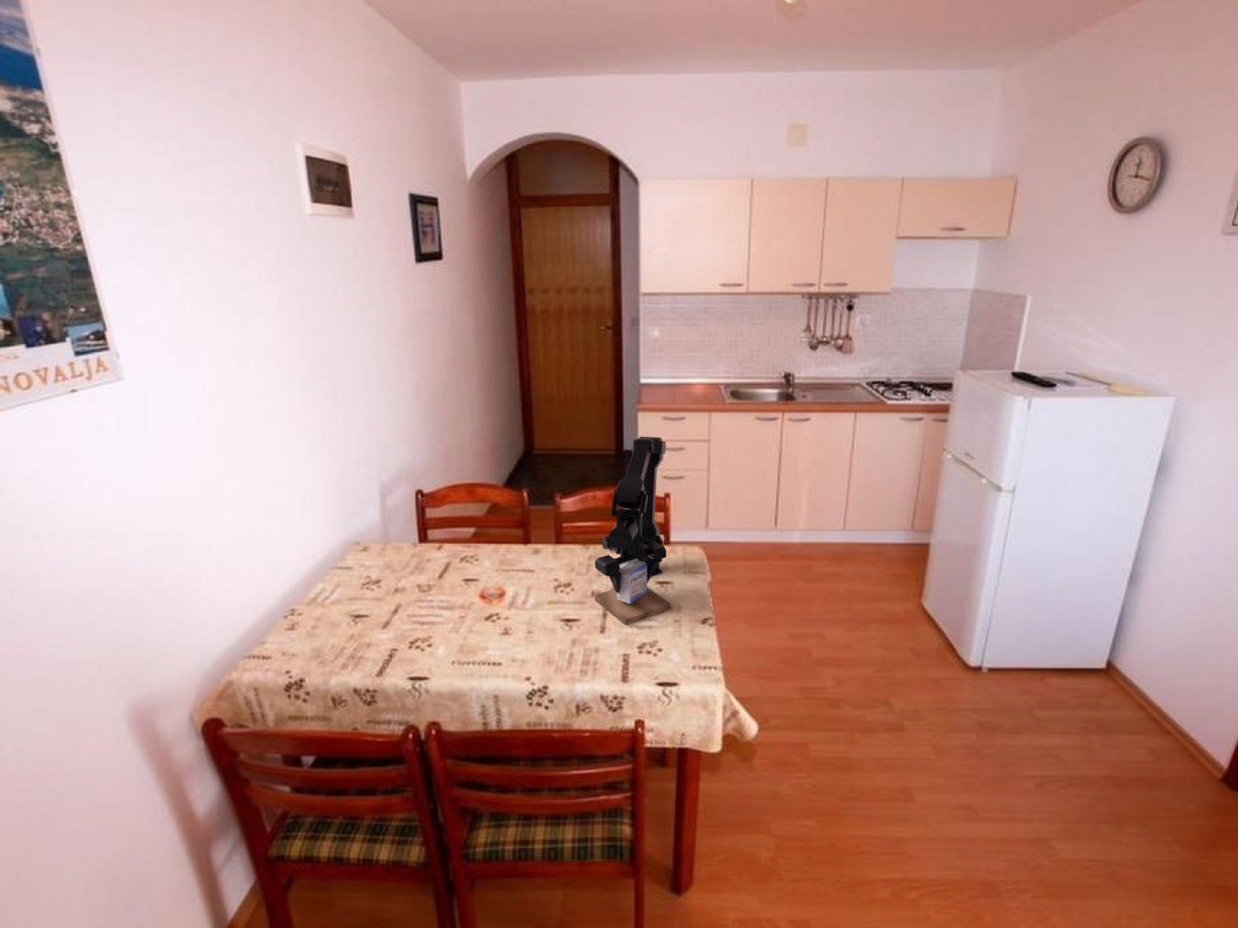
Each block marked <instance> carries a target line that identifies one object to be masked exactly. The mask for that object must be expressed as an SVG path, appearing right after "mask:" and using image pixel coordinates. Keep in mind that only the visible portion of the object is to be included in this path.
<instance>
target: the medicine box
mask: <svg viewBox="0 0 1238 928" xmlns="http://www.w3.org/2000/svg"><path fill="white" fill-rule="evenodd" d="M619 572H620V573H621V581H620V591H619V593H617V600H620V601H623V602H626V603H629V604H631V603H633V602H634V601H635V600H637V599H638V598H639V597H641V596H642V595H644V594H645V593H646V592H647V587H648V583H647V563H645V562H642V561H639V560H635V561H632V562H628V563H625V564H623V566H620V570H619Z"/></svg>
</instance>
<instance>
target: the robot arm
mask: <svg viewBox="0 0 1238 928" xmlns="http://www.w3.org/2000/svg"><path fill="white" fill-rule="evenodd" d="M666 448H667V444H666V441H664V440H663V438H662V437H660V436H659V437H658V436H639V438H638V437H637V438H635V439H632V455H631V457H630V462H629V465H628V467H627V468H628V469H627V472H626V475H625V476H624V477H622V478H621V479H620V480H619V482H618V483H617V486H616V488H615V489H614V490H613V497H612V501H611V503H612V504H611V511H610V517H614V518H616V523H615V524H614V526H613V527H612V529H611V531H610V532H609V535H607V536H602V537H601V545H602V549H603V550H609V551H610V552H611V551H614V553H615V554H616V555H619V556H618V557H613V556H611V555H610V554H607V555H604V556H600V557H598V558H595V561H594V569H595V570H598V572H599V573H602V575H604V576H605V577H608V578H609V579H610V582H611V584H612V586H613V589H615V591H616V592H617V593H619V591H620V581H621V573H620V572H619V570H620V568H621V566H622V565H626V564H627V563H629V562H632V561H635V560H639V561H642V562H645V563H647V584H648V583H649V582H650V580H651V578H652V577H653V576H656V575H658V574H661V573H663V569H661V568H660V563H662V562H663V559H665V558H667V548H666V547H665V546H664V540H663V538H662V536H661V535H660V534H661V533H660V531H661V530H660V527H659V526H658V524H657V522H656V520H655V517H656V496H657V495H656V494H657V478H658V477H657V475H658V474H657V473H658V468H659V466H660V465H661V463H662V462H663V460H664V455H665V454H666V450H667V449H666ZM619 508H620V509H619Z"/></svg>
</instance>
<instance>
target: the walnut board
mask: <svg viewBox="0 0 1238 928" xmlns="http://www.w3.org/2000/svg"><path fill="white" fill-rule="evenodd" d="M594 601H595V602H596V603H598V604H599V606H601V607H602V608H603V609H605V610H606V611H607V612H609V613H610V614H611V615H612V616H613V617H615V618H616V619H617V620H618V621H620V622H621V623H622V624H623V625H624V626H627V625H630V624H632V623H636V622H638V621H640V620H641V621H642V620H644V619H646V618H648V617H649V618H650V617H652V616H654V615H657V614H660V613H663V612H666V611H668V610H670V609H671V608H672V603H671V602H669V601H668V600H667V599H666V598H663V597H662V596H661V595H660V594H658V593H657V592H655V591H654V590H653V589H651V588H650V587H648V586H647V592H646V593H645V594H644V595H642V596H641V597H639V598H638V599H637V600H635V601H634V602H633V603H631V604H629V603H626V602H623V601H620V600H617V592H616V591H615V589H614V588H612V589H609V590H606V591H603V592H601V593H598V594H594Z"/></svg>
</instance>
